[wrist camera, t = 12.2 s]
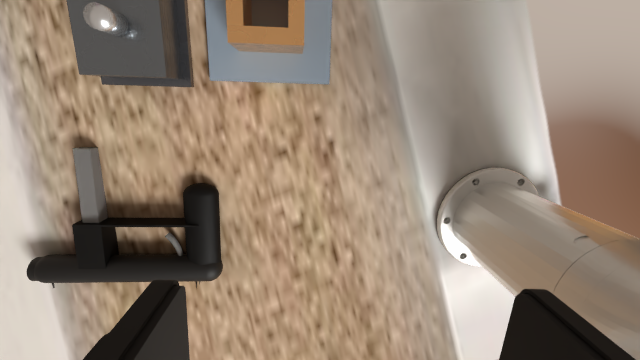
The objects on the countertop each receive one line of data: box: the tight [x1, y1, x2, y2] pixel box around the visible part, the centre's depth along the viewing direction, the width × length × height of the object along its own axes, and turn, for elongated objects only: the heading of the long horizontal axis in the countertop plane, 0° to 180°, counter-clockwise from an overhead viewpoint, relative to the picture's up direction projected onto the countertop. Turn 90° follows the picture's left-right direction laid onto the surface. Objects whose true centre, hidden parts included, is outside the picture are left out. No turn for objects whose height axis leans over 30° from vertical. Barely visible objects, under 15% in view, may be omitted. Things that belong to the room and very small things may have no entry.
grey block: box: [67, 0, 194, 87], centre depth 26 cm, size 8×13×8 cm, turn 178°
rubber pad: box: [205, 0, 332, 84], centre depth 30 cm, size 12×12×1 cm
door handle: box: [27, 147, 223, 288], centre depth 34 cm, size 3×20×16 cm
